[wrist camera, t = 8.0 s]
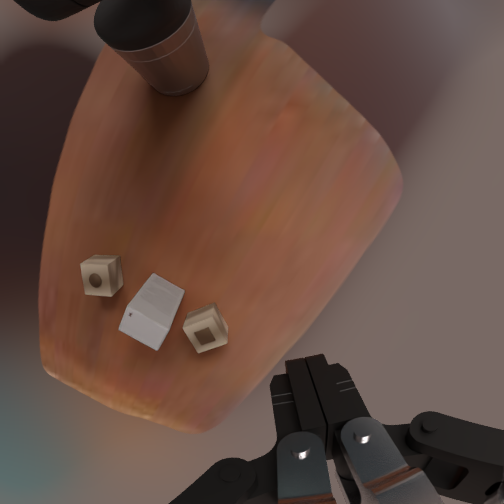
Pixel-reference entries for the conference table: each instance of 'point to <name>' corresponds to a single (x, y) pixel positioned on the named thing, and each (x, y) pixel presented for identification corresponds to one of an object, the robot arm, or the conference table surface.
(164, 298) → the skincare box
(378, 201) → the conference table surface
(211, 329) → the marked block
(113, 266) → the marked block
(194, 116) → the conference table surface
